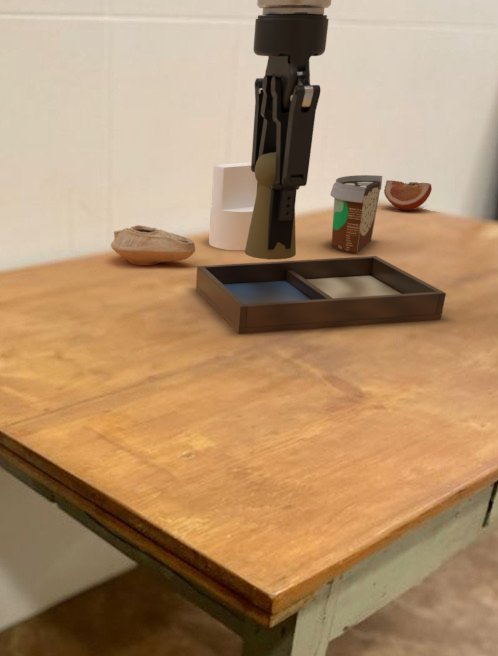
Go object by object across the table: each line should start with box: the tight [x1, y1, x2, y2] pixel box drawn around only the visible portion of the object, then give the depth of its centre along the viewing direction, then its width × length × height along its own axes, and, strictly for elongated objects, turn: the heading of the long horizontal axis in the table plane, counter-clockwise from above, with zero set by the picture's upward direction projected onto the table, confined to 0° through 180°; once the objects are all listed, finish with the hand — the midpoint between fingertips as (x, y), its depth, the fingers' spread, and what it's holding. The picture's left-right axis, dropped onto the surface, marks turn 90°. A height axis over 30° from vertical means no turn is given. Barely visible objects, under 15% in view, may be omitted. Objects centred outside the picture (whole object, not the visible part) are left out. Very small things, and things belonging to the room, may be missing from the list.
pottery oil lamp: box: [110, 224, 196, 266], centre depth 118 cm, size 9×12×7 cm
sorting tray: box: [195, 255, 447, 335], centre depth 101 cm, size 25×18×4 cm
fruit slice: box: [383, 179, 433, 211], centre depth 152 cm, size 8×7×5 cm
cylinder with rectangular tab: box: [208, 161, 257, 251], centre depth 126 cm, size 9×9×12 cm
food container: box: [329, 174, 383, 255], centre depth 125 cm, size 12×6×10 cm, turn 152°
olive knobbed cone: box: [244, 152, 297, 260], centre depth 94 cm, size 6×6×11 cm
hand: (271, 243), depth 97 cm, fingers closed on olive knobbed cone, 4 cm apart
